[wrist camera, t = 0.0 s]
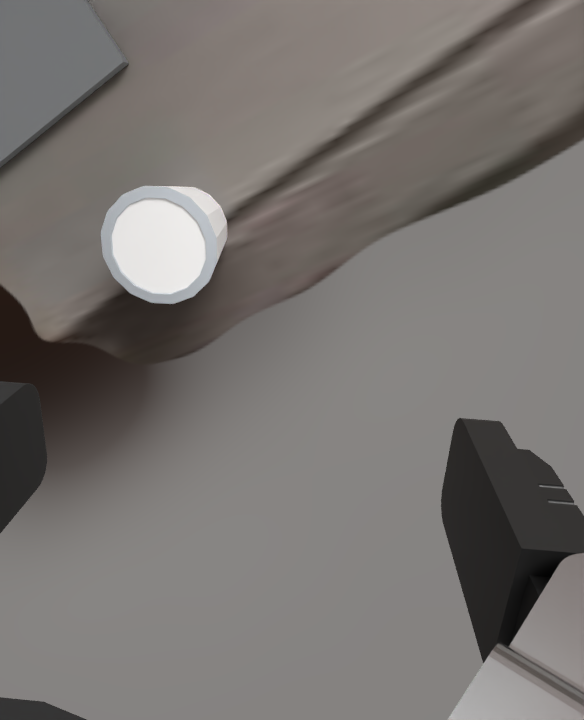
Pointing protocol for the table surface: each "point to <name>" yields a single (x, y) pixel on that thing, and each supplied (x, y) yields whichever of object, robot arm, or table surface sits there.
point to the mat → (48, 65)
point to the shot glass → (163, 241)
